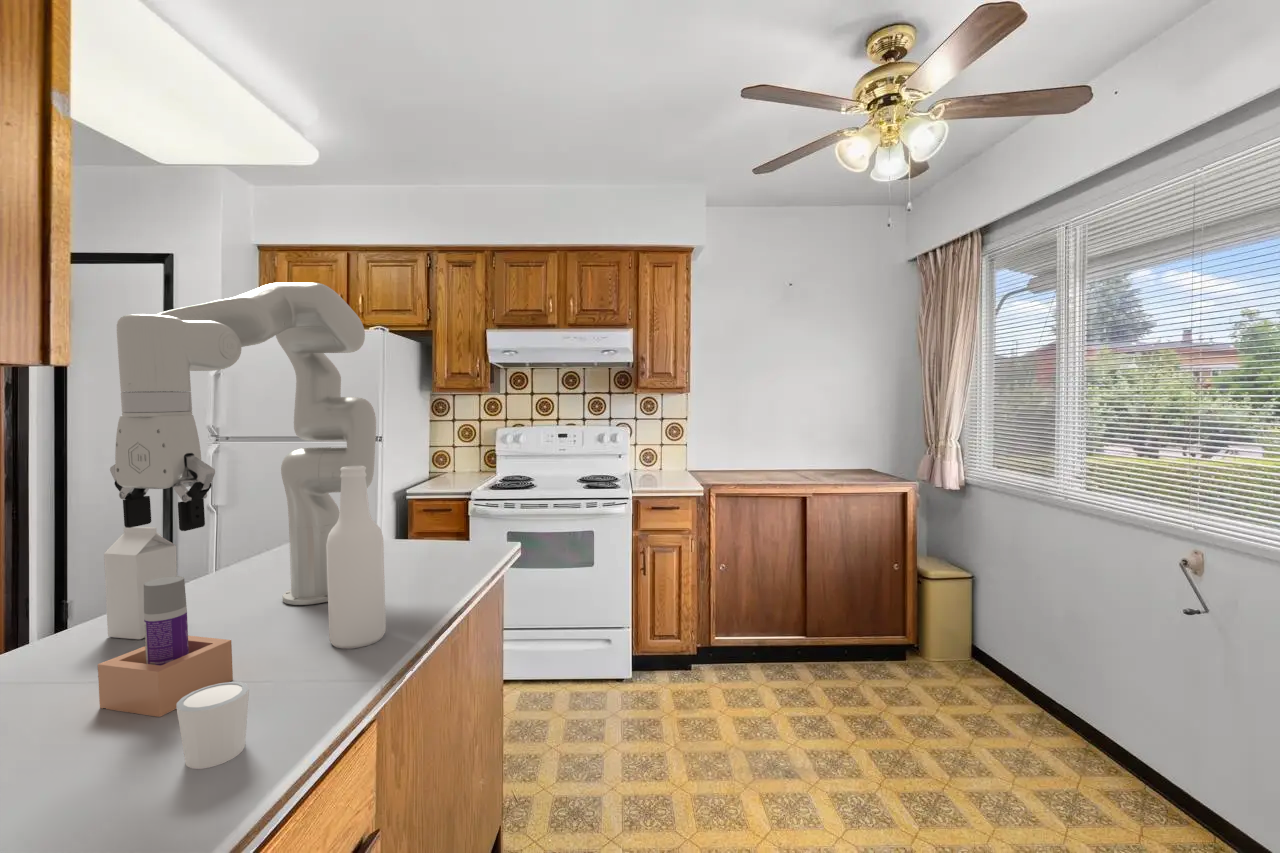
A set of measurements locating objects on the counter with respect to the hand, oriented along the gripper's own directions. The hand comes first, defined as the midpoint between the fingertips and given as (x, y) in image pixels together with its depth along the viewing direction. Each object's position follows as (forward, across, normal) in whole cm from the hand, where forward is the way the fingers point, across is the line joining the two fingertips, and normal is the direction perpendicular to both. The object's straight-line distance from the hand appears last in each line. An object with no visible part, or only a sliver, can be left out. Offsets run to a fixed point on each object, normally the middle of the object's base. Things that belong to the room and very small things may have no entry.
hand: (165, 527), depth 81 cm
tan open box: (+24, 0, -1) cm, 24 cm away
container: (+23, 0, -1) cm, 23 cm away
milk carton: (+24, -28, +16) cm, 40 cm away
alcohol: (+24, +13, +21) cm, 35 cm away
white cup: (+23, +20, -11) cm, 33 cm away
